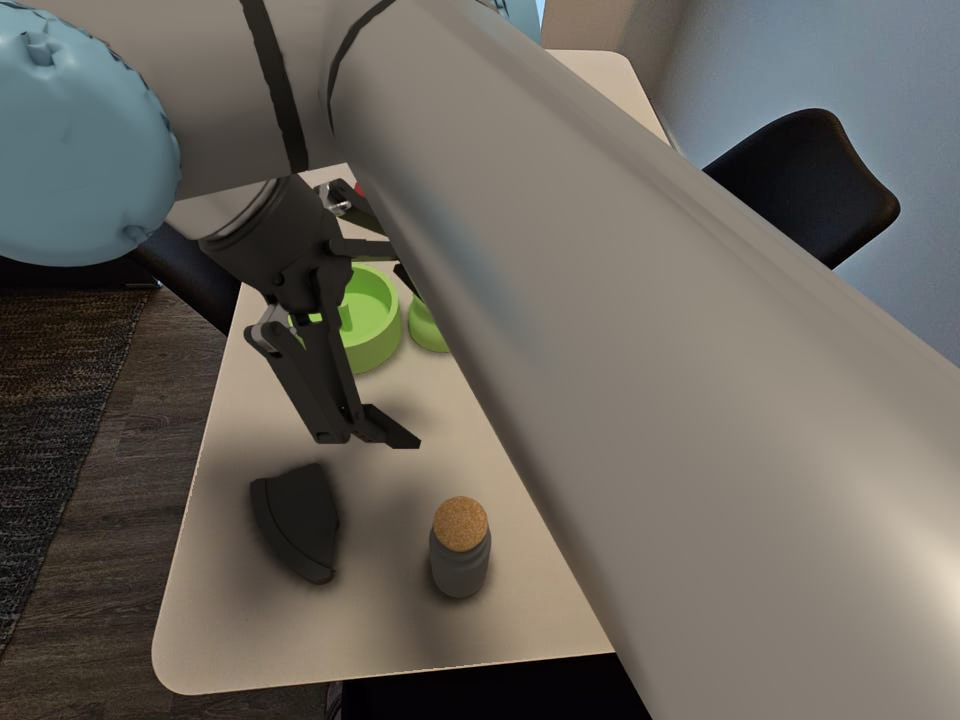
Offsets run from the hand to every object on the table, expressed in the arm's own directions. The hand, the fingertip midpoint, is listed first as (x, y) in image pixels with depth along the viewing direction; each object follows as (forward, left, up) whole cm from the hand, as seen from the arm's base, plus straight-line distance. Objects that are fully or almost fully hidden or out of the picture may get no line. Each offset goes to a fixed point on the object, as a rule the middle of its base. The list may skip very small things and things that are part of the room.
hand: (428, 372), depth 50 cm
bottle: (-11, -3, -22) cm, 25 cm away
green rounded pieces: (+22, +7, -22) cm, 31 cm away
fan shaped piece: (-5, +16, -22) cm, 27 cm away
